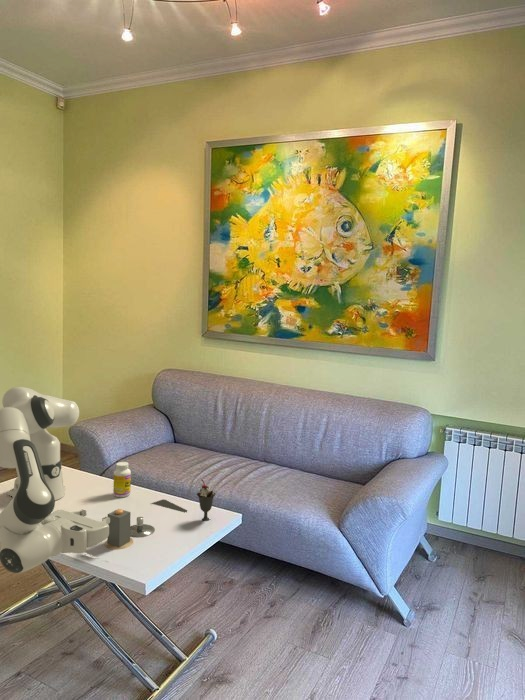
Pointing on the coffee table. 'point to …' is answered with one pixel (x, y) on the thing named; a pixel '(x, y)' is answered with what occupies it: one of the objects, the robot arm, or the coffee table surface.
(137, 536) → the grey knobbed dome
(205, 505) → the sundae
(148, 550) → the coffee table surface
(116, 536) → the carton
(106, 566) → the coffee table surface
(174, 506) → the smartphone
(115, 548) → the coaster
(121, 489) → the supplement bottle
